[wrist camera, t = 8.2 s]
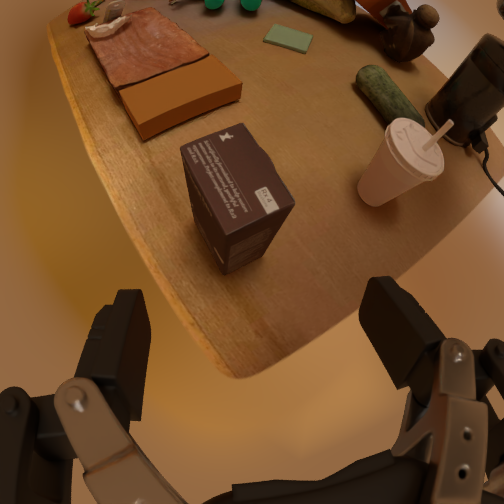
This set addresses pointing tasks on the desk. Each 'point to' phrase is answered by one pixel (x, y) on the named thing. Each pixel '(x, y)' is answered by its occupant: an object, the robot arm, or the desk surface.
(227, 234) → the box
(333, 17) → the lettuce
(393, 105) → the vegetable
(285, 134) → the desk surface
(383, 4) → the rounded orange block
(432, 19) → the sculpture
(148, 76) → the brown wooden flat board
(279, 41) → the mat
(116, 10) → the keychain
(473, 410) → the robot arm
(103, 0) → the pencil
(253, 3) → the donuts
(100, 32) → the false teeth
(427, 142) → the smoothie
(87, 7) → the fruit
